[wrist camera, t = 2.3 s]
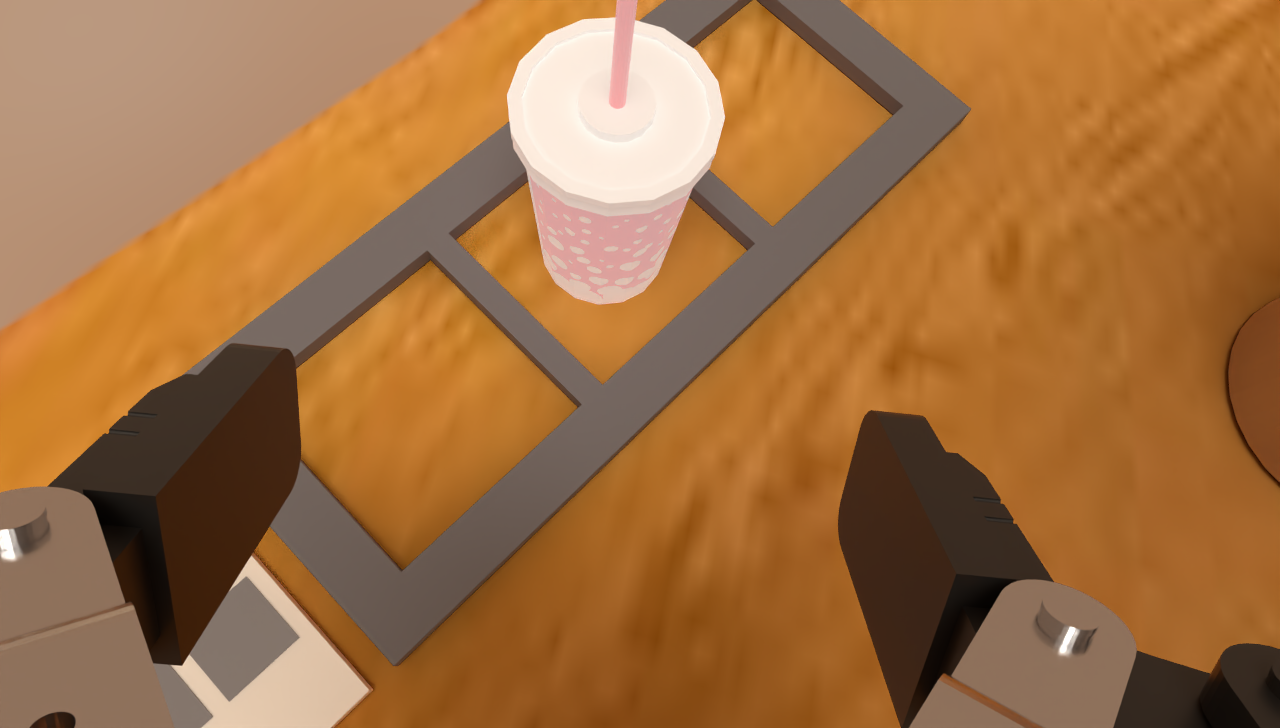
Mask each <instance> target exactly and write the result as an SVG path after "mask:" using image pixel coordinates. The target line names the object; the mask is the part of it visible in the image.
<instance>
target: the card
mask: <svg viewBox="0 0 1280 728" xmlns="http://www.w3.org/2000/svg"><path fill="white" fill-rule="evenodd" d="M153 665H154V668H155V671H156V674H157V677H158V680H159V683H160V686H161V689H162V692H163V695H164V698H165V701H166V703H167V706H168V709H169V712H170V715H171V718H172V721H173V724H174V727H175V728H334V727H335V726H336V725H337V724H338V723H339V722H340V721H341V720H342V719H344V718H345V717H346V716H347V715H348V714H349V713H350V712H351V711H352V710H353V709H354V708H355V707H356V706H357V705H358V704H359V703H360V702H361V701H362V700H363V699H364V698H365V697H366V696H367V695H368V694H369V693H370V692H371V691H372V690H373V688H372V687H371V686H370V685H369V684H368V683H367V682H366V680H365V679H364V678H363V677H362V676H361V675H360V674H359V672H358V671H357V670H356V669H355V668H354V667H353V666H352V664H351V663H350V662H349V661H348V660H347V659H346V658H345V657H344V655H343V654H342V653H341V652H340V651H339V650H338V649H337V647H336V646H335V645H334V644H333V643H332V642H331V641H330V639H329V638H328V637H327V636H326V635H325V634H324V633H323V631H322V630H321V629H320V628H319V627H318V626H317V625H316V623H315V622H314V621H313V620H312V619H311V618H310V617H309V615H308V614H307V613H306V612H305V611H304V610H303V609H302V607H301V606H300V605H299V604H298V603H297V602H296V601H295V599H294V598H293V597H292V596H291V595H290V594H289V593H288V591H287V590H286V589H285V588H284V587H283V586H282V585H281V583H280V582H279V581H278V580H277V579H276V578H275V577H274V575H273V574H272V573H271V572H270V571H269V570H268V569H267V567H266V566H265V565H264V564H263V563H262V562H261V561H260V559H259V558H258V557H257V556H256V555H255V554H254V553H253V554H252V555H251V557H250V558H249V560H248V562H247V563H246V565H245V566H244V568H243V570H242V571H241V573H240V574H239V576H238V577H237V579H236V581H235V582H234V584H233V585H232V587H231V589H230V590H229V592H228V593H227V595H226V597H225V598H224V600H223V601H222V603H221V605H220V606H219V608H218V609H217V611H216V613H215V614H214V616H213V617H212V619H211V621H210V622H209V624H208V625H207V627H206V629H205V630H204V632H203V633H202V635H201V637H200V638H199V640H198V641H197V643H196V645H195V646H194V648H193V649H192V651H191V652H190V654H189V656H188V657H187V659H186V660H185V662H184V664H183V665H182V666H178V665H166V664H154V663H153Z"/></svg>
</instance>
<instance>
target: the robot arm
mask: <svg viewBox="0 0 1280 728" xmlns="http://www.w3.org/2000/svg"><path fill="white" fill-rule="evenodd" d="M1228 377H1229V392H1230V398H1231V402H1232V405H1233V409H1234V413H1235V416H1236V420H1237V422H1238V424H1239V426H1240V428H1241V430H1242V432H1243V434H1244V437H1245V439H1246V441H1247V443H1248V445H1249V446H1250V448H1251V449H1252V450H1253V452H1254V453H1255V455H1256V456H1257V457H1258V459H1259V460H1260V462H1261V463H1262V464H1263V466H1264V467H1265V468H1266V469H1267V470H1268V471H1269V472H1270V473H1271V474H1272V475H1273V476H1274V477H1275V478H1276V479H1277V480H1278V481H1279V483H1280V298H1278V299H1276V300H1274V301H1272V302H1270V303H1268V304H1267V305H1265V306H1264V307H1262V308H1261V309H1260V310H1258V311H1257V312H1255V313H1254V314H1253V315H1252V316H1251V317H1250V318H1249V320H1248V321H1247V322H1246V323H1245V325H1244V326H1243V327H1242V328H1241V329H1240V331H1239V334H1238V336H1237V338H1236V341H1235V343H1234V345H1233V347H1232V350H1231V357H1230V363H1229V369H1228ZM300 459H301V438H300V422H299V407H298V392H297V376H296V364H295V359H294V356H293V354H292V352H291V351H290V350H289V349H287V348H277V347H267V346H258V345H248V344H238V343H231V344H229V345H228V346H226V347H225V348H224V349H223V350H222V351H221V352H220V353H219V354H218V355H217V356H216V357H215V358H214V359H213V360H212V361H211V362H210V363H209V364H208V365H207V366H206V367H205V368H204V369H203V370H202V371H201V372H200V373H199V374H198V375H194V374H185V375H183V376H180V377H178V378H176V379H174V380H172V381H170V382H168V383H165V384H163V385H161V386H159V387H157V388H155V389H153V390H151V391H150V392H149V393H147V394H146V395H145V396H144V397H143V398H142V399H141V400H140V401H139V402H138V403H137V404H136V405H135V406H133V407H132V408H131V409H130V410H129V411H128V416H123V417H122V418H121V419H119V420H118V421H117V422H116V423H115V424H114V425H113V426H112V427H111V428H110V429H109V434H105V433H104V434H103V435H102V436H101V437H100V438H99V439H98V440H97V441H96V442H95V443H94V444H93V445H91V446H90V447H89V448H88V449H87V450H86V451H85V452H84V453H83V454H82V455H81V456H80V457H79V458H77V459H76V460H75V461H74V462H73V463H72V464H71V465H70V466H69V467H68V468H67V469H66V470H65V471H63V472H62V473H61V474H60V475H59V476H58V477H57V478H56V479H55V480H54V481H53V482H52V483H51V484H49V485H48V486H47V487H30V488H21V489H15V490H10V491H5V492H1V493H0V728H175V727H174V724H173V721H172V718H171V715H170V712H169V709H168V706H167V703H166V701H165V698H164V695H163V692H162V689H161V686H160V683H159V680H158V677H157V674H156V671H155V668H154V665H153V663H154V664H166V665H178V666H182V665H183V664H184V662H185V660H186V659H187V657H188V656H189V654H190V652H191V651H192V649H193V648H194V646H195V645H196V643H197V641H198V640H199V638H200V637H201V635H202V633H203V632H204V630H205V629H206V627H207V625H208V624H209V622H210V621H211V619H212V617H213V616H214V614H215V613H216V611H217V609H218V608H219V606H220V605H221V603H222V601H223V600H224V598H225V597H226V595H227V593H228V592H229V590H230V589H231V587H232V585H233V584H234V582H235V581H236V579H237V577H238V576H239V574H240V573H241V571H242V570H243V568H244V566H245V565H246V563H247V562H248V560H249V558H250V557H251V555H252V554H253V552H254V550H255V549H256V547H257V546H258V544H259V542H260V541H261V539H262V538H263V536H264V534H265V533H266V531H267V530H268V528H269V526H270V525H271V523H272V522H273V520H274V518H275V517H276V515H277V514H278V512H279V510H280V509H281V507H282V506H283V504H284V503H285V501H286V499H287V498H288V496H289V495H290V493H291V491H292V489H293V487H294V485H295V482H296V479H297V475H298V471H299V466H300ZM1000 500H1001V499H1000V497H999V496H998V494H997V493H996V491H995V490H994V488H993V487H992V485H991V483H990V482H989V480H988V479H987V477H986V476H985V475H984V474H983V473H982V472H980V471H979V470H978V469H977V468H975V467H974V466H973V465H972V464H970V463H969V462H968V461H967V460H965V459H964V458H963V457H962V456H960V455H959V454H958V453H948V452H946V451H945V450H944V448H943V446H942V445H941V443H940V441H939V440H938V438H937V436H936V435H935V433H934V431H933V430H932V428H931V426H930V424H929V423H928V421H927V420H926V418H925V417H923V416H920V415H911V414H901V413H892V412H882V411H872V410H871V411H869V412H868V413H867V414H866V415H865V417H864V419H863V421H862V424H861V427H860V431H859V434H858V438H857V442H856V446H855V449H854V453H853V457H852V461H851V464H850V468H849V472H848V476H847V479H846V483H845V487H844V491H843V494H842V498H841V502H840V508H839V517H838V532H839V540H840V545H841V548H842V551H843V554H844V557H845V560H846V563H847V566H848V569H849V572H850V575H851V578H852V581H853V584H854V588H855V591H856V594H857V597H858V600H859V603H860V606H861V609H862V612H863V615H864V618H865V621H866V624H867V627H868V630H869V633H870V636H871V639H872V642H873V645H874V648H875V651H876V654H877V657H878V660H879V663H880V666H881V669H882V672H883V675H884V678H885V681H886V684H887V687H888V690H889V693H890V696H891V699H892V702H893V705H894V708H895V711H896V714H897V717H898V720H899V723H900V726H901V728H1280V649H1277V648H1274V647H1270V646H1265V645H1260V644H1249V643H1246V644H1237V645H1233V646H1230V647H1229V648H1227V649H1226V650H1225V651H1224V652H1223V653H1222V655H1221V656H1220V658H1219V660H1218V662H1217V664H1216V666H1215V667H1214V669H1213V671H1212V673H1211V674H1209V673H1206V672H1203V671H1200V670H1196V669H1193V668H1190V667H1187V666H1183V665H1180V664H1177V663H1174V662H1170V661H1167V660H1164V659H1161V658H1157V657H1154V656H1151V655H1148V654H1145V653H1142V652H1140V651H1137V648H1136V642H1135V640H1134V638H1133V635H1132V633H1131V632H1130V630H1129V629H1128V627H1127V626H1126V625H1125V624H1124V623H1123V621H1122V620H1121V619H1120V618H1119V617H1118V616H1117V615H1116V614H1114V613H1113V612H1112V611H1111V610H1110V609H1108V608H1107V607H1106V606H1104V605H1103V604H1102V603H1100V602H1099V601H1097V600H1095V599H1094V598H1092V597H1090V596H1088V595H1086V594H1084V593H1082V592H1080V591H1078V590H1076V589H1073V588H1071V587H1068V586H1065V585H1062V584H1059V583H1055V582H1054V581H1053V580H1052V578H1051V577H1050V575H1049V574H1048V572H1047V570H1046V569H1045V567H1044V566H1043V564H1042V563H1041V561H1040V560H1039V558H1038V556H1037V555H1036V553H1035V552H1034V550H1033V549H1032V547H1031V546H1030V544H1029V543H1028V541H1027V539H1026V538H1025V536H1024V535H1023V533H1022V532H1021V530H1020V529H1019V527H1018V525H1017V524H1013V518H1012V516H1011V515H1010V513H1009V511H1008V510H1007V508H1006V507H1005V505H1004V504H1000Z"/></svg>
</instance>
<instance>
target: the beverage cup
mask: <svg viewBox="0 0 1280 728" xmlns="http://www.w3.org/2000/svg"><path fill="white" fill-rule="evenodd" d="M636 8H637V0H617V7H616V18H600V19H583V20H581V21H578V22H576V23H573V24H571V25H569V26H566V27H564V28H561V29H559V30H557V31H554V32H552V33H549V34H547V35H546V36H545V37H544V38H543V39H542V40H541V41H540V42H539V43H538V44H537V45H536V46H535V47H534V48H533V49H532V50H531V51H530V52H529V53H528V54H526V55H525V56H524V57H523V58H522V59H521V60H520V62H519V65H518V67H517V70H516V73H515V75H514V78H513V81H512V83H511V86H510V89H509V91H508V94H507V101H508V110H509V120H510V130H511V138H512V140H513V148H514V150H515V152H516V153H517V155H518V157H519V158H520V160H521V162H522V163H523V165H524V166H525V168H526V171H527V176H528V181H529V187H530V192H531V197H532V202H533V207H534V213H535V218H536V223H537V228H538V233H539V238H540V244H541V249H542V254H543V259H544V264H545V266H546V268H547V269H548V271H549V273H550V274H551V276H552V278H553V280H554V281H555V283H556V284H557V285H558V286H560V287H561V288H562V289H564V290H565V291H566V292H568V293H569V294H570V295H572V296H573V297H574V298H577V299H580V300H584V301H588V302H591V303H595V304H609V303H619V302H624V301H626V300H628V299H630V298H632V297H634V296H636V295H638V294H640V293H642V292H643V291H644V290H645V289H646V288H647V287H648V285H649V284H650V283H651V282H652V281H653V280H654V278H655V277H656V276H657V275H658V272H659V270H660V268H661V265H662V263H663V260H664V258H665V255H666V253H667V250H668V248H669V245H670V243H671V240H672V238H673V235H674V233H675V230H676V228H677V225H678V223H679V221H680V218H681V216H682V213H683V211H684V208H685V206H686V203H687V201H688V198H689V196H690V193H691V191H692V188H693V187H694V185H695V184H696V183H697V182H698V181H699V180H700V179H701V177H702V176H703V175H704V174H705V173H706V172H707V170H708V169H709V168H710V166H711V162H712V160H713V159H714V156H715V153H716V149H717V145H718V142H719V138H720V134H721V131H722V127H723V123H724V120H725V115H724V110H723V104H722V99H721V94H720V89H719V84H718V81H717V79H716V78H715V77H714V75H713V74H712V72H711V71H710V69H709V68H708V66H707V65H706V64H705V62H704V61H703V59H702V58H701V56H700V55H699V53H698V52H697V51H696V50H695V49H694V48H692V47H691V46H689V45H688V44H686V43H685V42H683V41H682V40H680V39H679V38H677V37H676V36H674V35H673V34H672V33H670V32H669V31H667V30H666V29H664V28H662V27H658V26H654V25H651V24H647V23H643V22H640V21H636V20H635V16H636Z"/></svg>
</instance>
